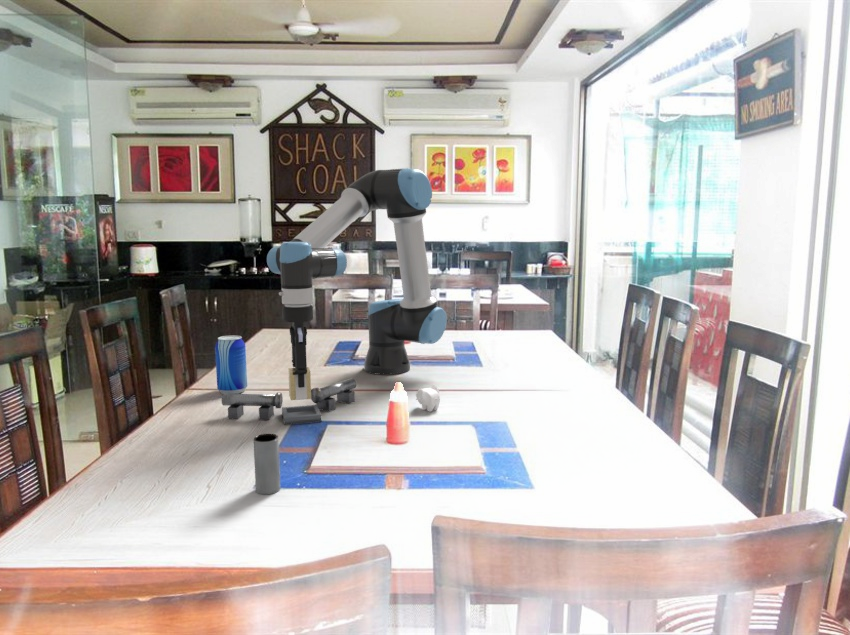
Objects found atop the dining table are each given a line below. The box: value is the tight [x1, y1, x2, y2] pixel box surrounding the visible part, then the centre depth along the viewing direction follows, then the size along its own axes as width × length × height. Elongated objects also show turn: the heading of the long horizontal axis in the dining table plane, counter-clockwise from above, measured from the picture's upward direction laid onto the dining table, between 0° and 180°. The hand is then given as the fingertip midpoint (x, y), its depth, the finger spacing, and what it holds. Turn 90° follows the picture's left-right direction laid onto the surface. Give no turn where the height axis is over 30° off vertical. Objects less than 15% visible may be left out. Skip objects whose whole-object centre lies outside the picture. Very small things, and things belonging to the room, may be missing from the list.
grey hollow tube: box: [252, 432, 281, 495], centre depth 123 cm, size 4×4×10 cm
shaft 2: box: [310, 377, 358, 412], centre depth 176 cm, size 15×4×6 cm, turn 146°
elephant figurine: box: [415, 384, 441, 412], centre depth 172 cm, size 7×8×6 cm
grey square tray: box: [281, 404, 322, 426], centre depth 166 cm, size 9×9×2 cm
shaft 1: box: [220, 392, 284, 421], centre depth 166 cm, size 15×4×6 cm, turn 86°
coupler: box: [287, 366, 312, 401], centre depth 164 cm, size 6×5×7 cm
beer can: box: [214, 334, 248, 395], centre depth 190 cm, size 8×8×16 cm
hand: (300, 395), depth 165 cm, fingers closed on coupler, 6 cm apart
